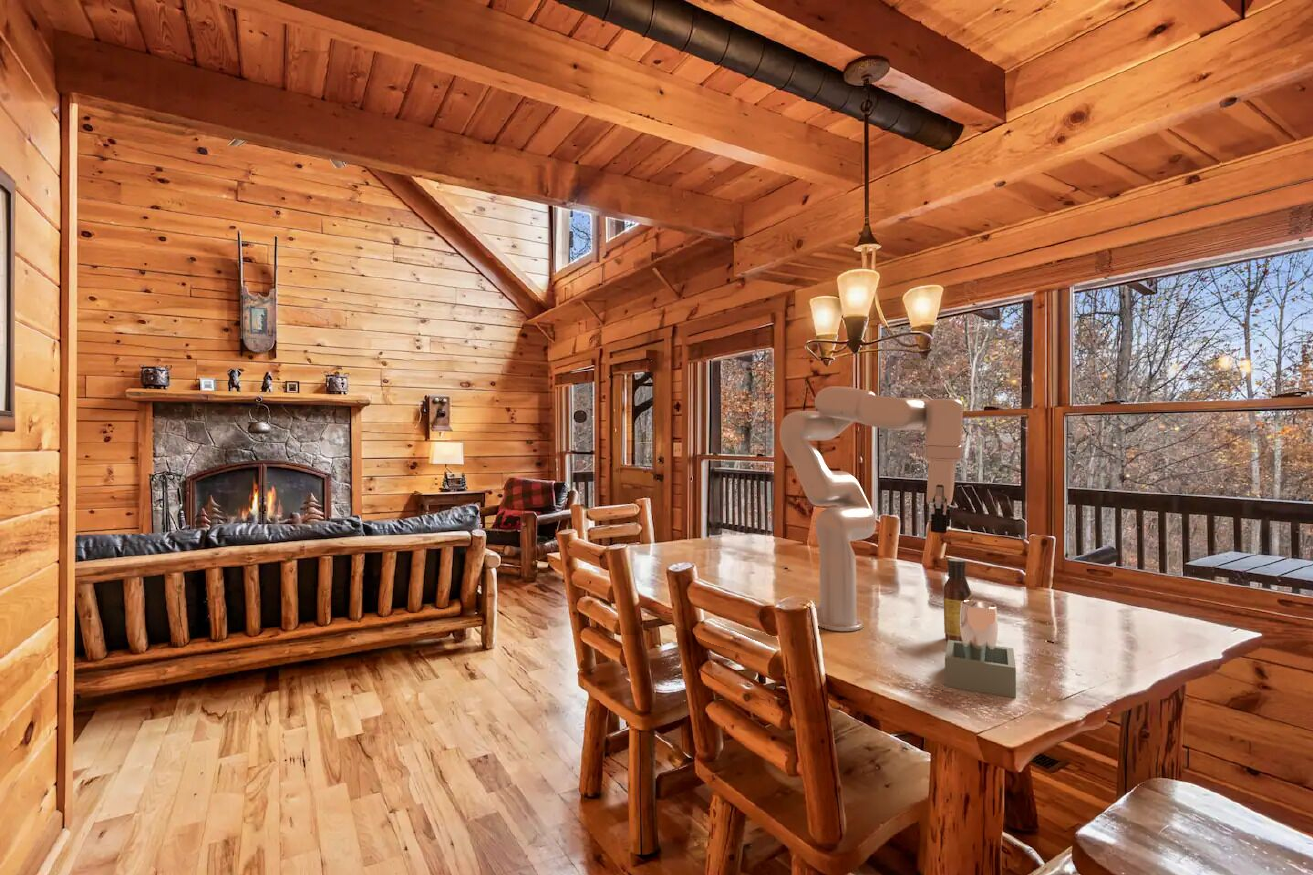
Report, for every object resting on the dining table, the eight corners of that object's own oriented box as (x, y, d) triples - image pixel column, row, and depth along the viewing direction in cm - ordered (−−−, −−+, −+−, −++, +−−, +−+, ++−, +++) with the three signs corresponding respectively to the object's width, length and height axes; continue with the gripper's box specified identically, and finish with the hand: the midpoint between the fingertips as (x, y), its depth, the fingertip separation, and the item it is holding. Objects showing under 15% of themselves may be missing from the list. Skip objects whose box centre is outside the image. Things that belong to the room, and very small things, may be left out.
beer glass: (953, 670, 132) (952, 599, 132) (985, 669, 132) (984, 599, 132) (972, 683, 125) (971, 608, 125) (1005, 682, 125) (1005, 608, 125)
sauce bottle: (975, 645, 150) (975, 563, 150) (947, 644, 151) (947, 562, 151) (967, 637, 156) (967, 557, 156) (941, 635, 158) (940, 557, 158)
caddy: (945, 686, 126) (944, 657, 126) (948, 666, 137) (948, 639, 137) (1015, 697, 120) (1015, 667, 120) (1013, 675, 131) (1013, 648, 131)
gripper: (928, 451, 150) (926, 521, 151) (920, 454, 135) (918, 533, 136) (963, 452, 146) (960, 524, 147) (959, 456, 131) (956, 537, 132)
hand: (940, 528), depth 141 cm, fingers open, 9 cm apart
